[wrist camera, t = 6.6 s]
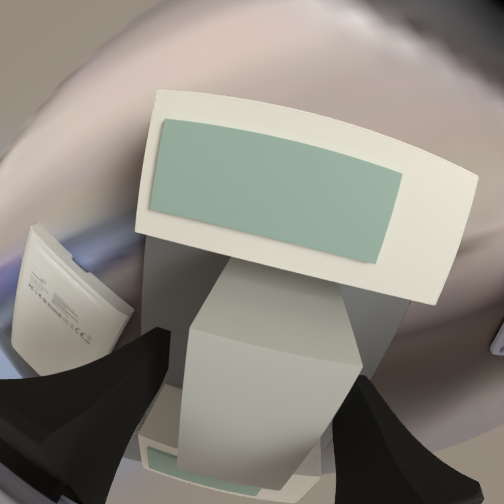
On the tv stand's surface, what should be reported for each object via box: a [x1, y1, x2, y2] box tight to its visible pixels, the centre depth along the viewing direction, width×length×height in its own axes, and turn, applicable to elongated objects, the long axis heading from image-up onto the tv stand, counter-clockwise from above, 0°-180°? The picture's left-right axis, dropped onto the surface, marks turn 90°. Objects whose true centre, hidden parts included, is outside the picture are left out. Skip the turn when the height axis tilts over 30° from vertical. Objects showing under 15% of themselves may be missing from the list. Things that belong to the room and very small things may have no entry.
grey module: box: [177, 257, 363, 491], centre depth 10 cm, size 4×7×6 cm, turn 168°
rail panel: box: [135, 89, 479, 503], centre depth 12 cm, size 12×18×5 cm, turn 168°
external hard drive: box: [11, 223, 135, 376], centre depth 16 cm, size 2×8×12 cm
